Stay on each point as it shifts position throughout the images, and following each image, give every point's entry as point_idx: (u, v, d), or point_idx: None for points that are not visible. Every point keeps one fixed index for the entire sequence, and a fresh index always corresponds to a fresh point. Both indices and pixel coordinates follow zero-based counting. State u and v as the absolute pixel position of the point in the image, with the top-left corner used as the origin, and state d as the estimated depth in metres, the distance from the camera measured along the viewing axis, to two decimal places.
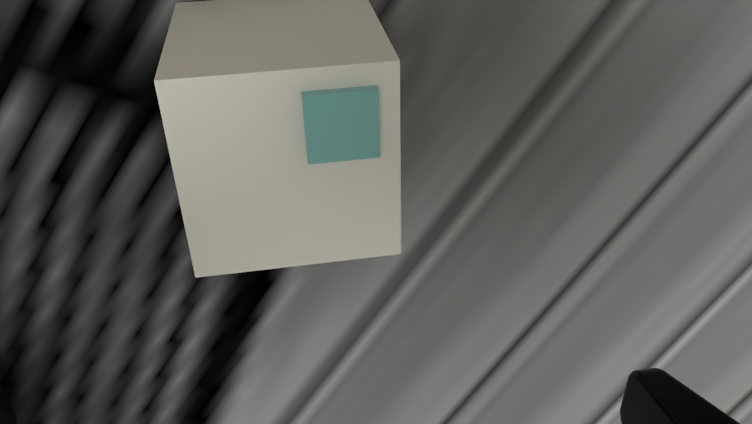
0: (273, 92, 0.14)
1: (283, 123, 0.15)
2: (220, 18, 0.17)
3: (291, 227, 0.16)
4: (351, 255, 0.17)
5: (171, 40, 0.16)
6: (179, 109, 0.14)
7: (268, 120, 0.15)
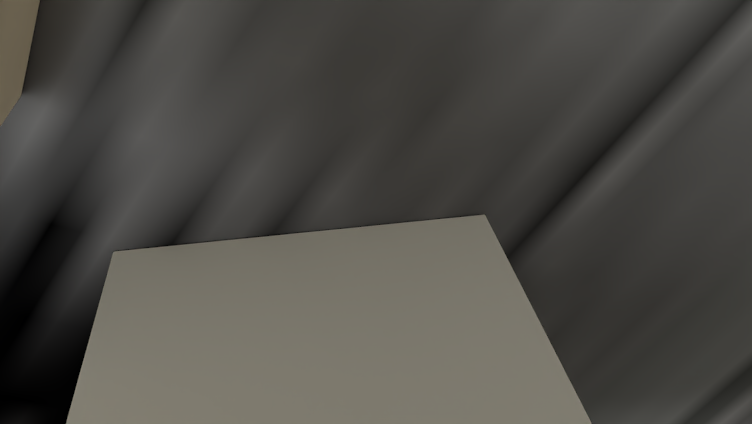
0: None
1: None
2: (198, 329, 0.08)
3: None
4: None
5: None
6: None
7: None
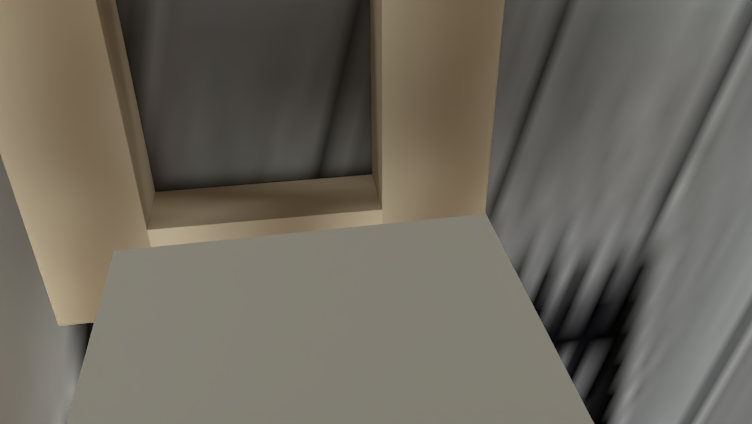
0: None
1: None
2: (199, 328, 0.08)
3: None
4: None
5: None
6: None
7: None
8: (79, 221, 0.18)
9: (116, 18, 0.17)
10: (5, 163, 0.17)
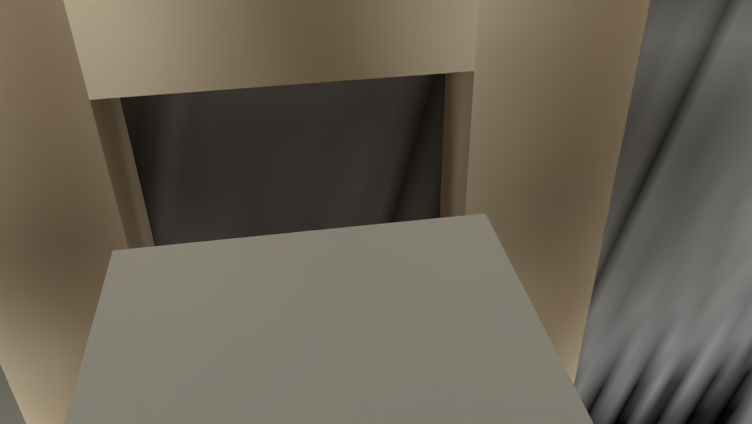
0: None
1: None
2: (198, 328, 0.08)
3: None
4: None
5: None
6: None
7: None
8: (76, 373, 0.14)
9: (121, 121, 0.13)
10: None
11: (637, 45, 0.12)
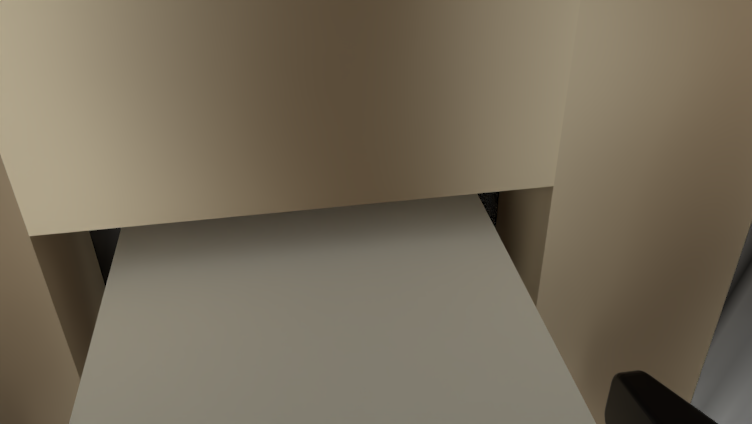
0: None
1: None
2: (208, 247, 0.09)
3: None
4: None
5: (106, 329, 0.08)
6: None
7: None
8: None
9: (82, 237, 0.10)
10: None
11: None
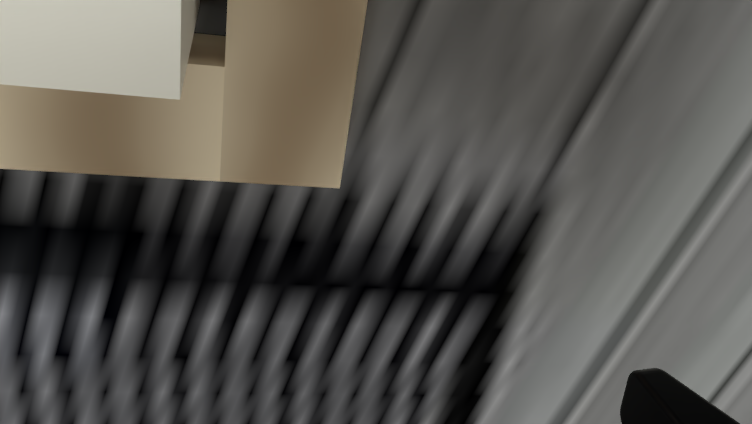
0: None
1: None
2: None
3: (13, 20, 0.11)
4: (104, 86, 0.12)
5: None
6: None
7: None
8: None
9: None
10: None
11: None
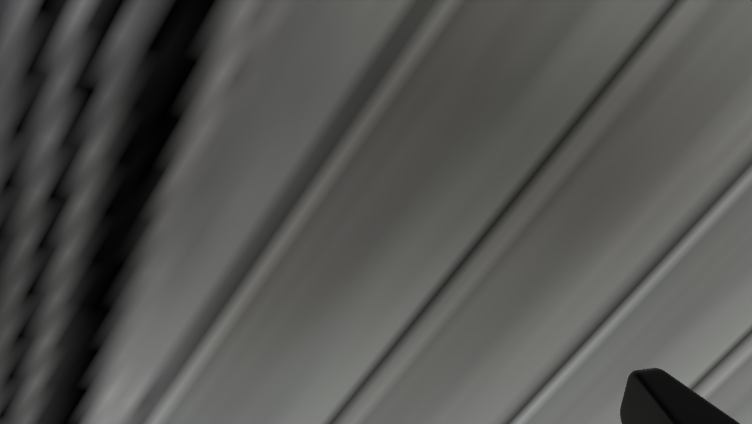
0: None
1: None
2: None
3: None
4: None
5: None
6: None
7: None
8: None
9: None
10: None
11: None
